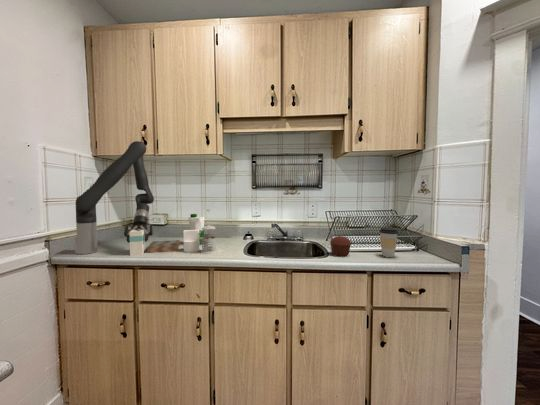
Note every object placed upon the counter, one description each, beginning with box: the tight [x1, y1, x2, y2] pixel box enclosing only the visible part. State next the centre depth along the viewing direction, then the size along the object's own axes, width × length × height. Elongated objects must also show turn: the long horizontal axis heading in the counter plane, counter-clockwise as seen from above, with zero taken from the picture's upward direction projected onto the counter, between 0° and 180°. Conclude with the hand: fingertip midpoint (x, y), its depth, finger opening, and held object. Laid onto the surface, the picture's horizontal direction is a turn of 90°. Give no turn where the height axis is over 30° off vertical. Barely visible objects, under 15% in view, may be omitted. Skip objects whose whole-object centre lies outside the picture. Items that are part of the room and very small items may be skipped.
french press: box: [198, 208, 218, 255], centre depth 140 cm, size 10×12×25 cm
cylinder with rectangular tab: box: [182, 229, 200, 253], centre depth 143 cm, size 9×9×12 cm
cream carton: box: [129, 229, 146, 256], centre depth 135 cm, size 6×6×14 cm
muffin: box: [329, 235, 353, 257], centre depth 134 cm, size 12×11×10 cm
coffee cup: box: [378, 227, 399, 258], centre depth 131 cm, size 9×9×15 cm
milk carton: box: [188, 213, 205, 246], centre depth 160 cm, size 9×9×20 cm
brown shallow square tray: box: [146, 239, 180, 254], centre depth 146 cm, size 16×16×4 cm
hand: (137, 241), depth 134 cm, fingers open, 8 cm apart
